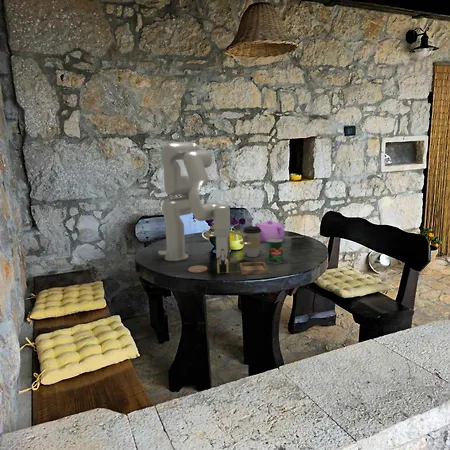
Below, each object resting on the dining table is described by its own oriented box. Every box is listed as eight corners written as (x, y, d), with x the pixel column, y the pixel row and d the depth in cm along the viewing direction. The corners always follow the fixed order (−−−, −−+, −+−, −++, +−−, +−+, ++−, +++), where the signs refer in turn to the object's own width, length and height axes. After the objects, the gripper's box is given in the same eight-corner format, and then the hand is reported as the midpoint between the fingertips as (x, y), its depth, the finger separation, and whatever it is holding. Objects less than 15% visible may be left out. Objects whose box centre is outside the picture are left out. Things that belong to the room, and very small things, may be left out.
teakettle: (285, 243, 236) (285, 222, 234) (256, 244, 237) (256, 223, 234) (282, 237, 253) (282, 217, 251) (255, 237, 253) (254, 218, 251)
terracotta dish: (187, 272, 187) (187, 271, 187) (188, 267, 196) (188, 265, 196) (207, 272, 188) (207, 270, 187) (207, 266, 196) (207, 265, 196)
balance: (205, 264, 200) (203, 227, 196) (205, 260, 206) (204, 225, 202) (252, 262, 200) (251, 226, 197) (251, 259, 206) (250, 223, 203)
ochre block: (217, 273, 185) (217, 262, 184) (217, 269, 190) (217, 259, 189) (228, 272, 185) (228, 262, 184) (228, 269, 190) (227, 259, 189)
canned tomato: (274, 264, 196) (274, 242, 194) (263, 261, 202) (263, 239, 200) (286, 261, 201) (286, 240, 199) (275, 258, 207) (275, 237, 205)
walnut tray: (241, 274, 182) (241, 270, 182) (239, 266, 194) (239, 262, 194) (267, 273, 183) (267, 269, 182) (264, 265, 195) (264, 261, 194)
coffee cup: (260, 258, 208) (260, 229, 205) (242, 257, 209) (241, 229, 207) (262, 253, 217) (262, 225, 214) (245, 252, 219) (244, 225, 216)
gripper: (213, 228, 192) (214, 265, 196) (213, 236, 175) (214, 276, 179) (229, 227, 192) (230, 264, 196) (231, 236, 175) (231, 276, 179)
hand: (222, 270), depth 187 cm, fingers closed on ochre block, 5 cm apart
